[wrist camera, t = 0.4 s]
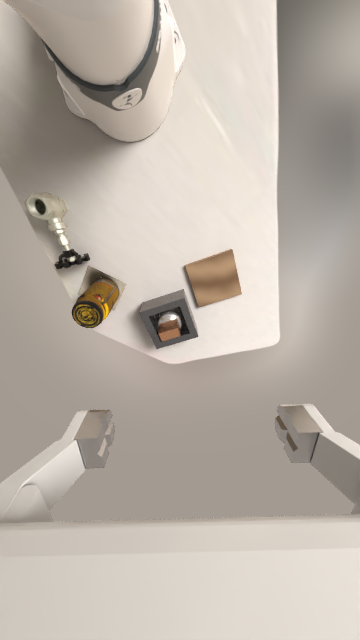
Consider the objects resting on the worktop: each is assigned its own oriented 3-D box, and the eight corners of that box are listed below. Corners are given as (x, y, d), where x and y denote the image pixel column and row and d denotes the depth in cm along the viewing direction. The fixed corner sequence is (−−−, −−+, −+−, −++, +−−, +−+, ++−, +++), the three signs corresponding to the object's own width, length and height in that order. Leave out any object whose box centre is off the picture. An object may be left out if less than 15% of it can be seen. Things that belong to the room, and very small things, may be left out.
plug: (156, 308, 50) (153, 328, 42) (176, 302, 49) (177, 320, 41) (164, 326, 52) (162, 347, 44) (183, 320, 51) (185, 341, 43)
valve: (35, 198, 39) (65, 263, 44) (10, 197, 33) (49, 271, 38) (68, 189, 38) (95, 256, 44) (50, 186, 32) (83, 263, 38)
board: (185, 265, 45) (185, 266, 44) (231, 249, 44) (232, 250, 43) (198, 305, 49) (198, 307, 49) (240, 292, 48) (241, 293, 47)
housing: (142, 302, 49) (139, 312, 44) (183, 289, 47) (184, 297, 43) (158, 337, 53) (156, 349, 49) (196, 325, 52) (198, 336, 48)
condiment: (114, 310, 50) (98, 338, 39) (78, 293, 47) (51, 318, 37) (126, 283, 47) (112, 306, 36) (88, 265, 44) (62, 283, 34)
